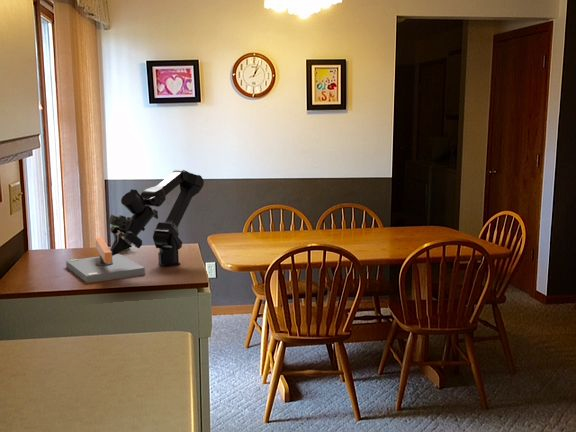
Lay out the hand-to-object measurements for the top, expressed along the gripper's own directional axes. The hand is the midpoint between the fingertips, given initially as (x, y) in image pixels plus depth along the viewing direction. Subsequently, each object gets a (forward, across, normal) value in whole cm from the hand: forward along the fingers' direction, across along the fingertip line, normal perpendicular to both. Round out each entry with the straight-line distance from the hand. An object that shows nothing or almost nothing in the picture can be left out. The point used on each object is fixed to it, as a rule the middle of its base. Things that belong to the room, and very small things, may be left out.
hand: (109, 255), depth 210 cm
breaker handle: (+3, -11, +5) cm, 12 cm away
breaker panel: (+4, -11, +6) cm, 14 cm away
